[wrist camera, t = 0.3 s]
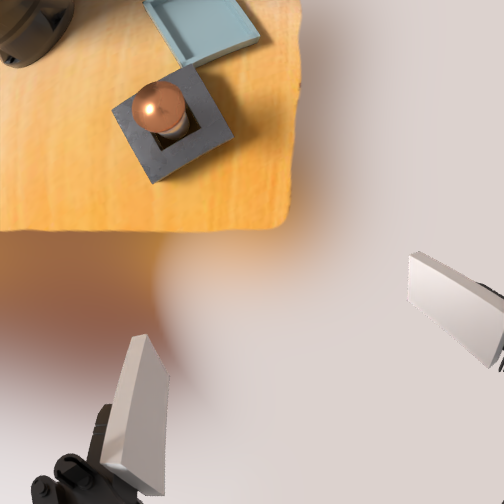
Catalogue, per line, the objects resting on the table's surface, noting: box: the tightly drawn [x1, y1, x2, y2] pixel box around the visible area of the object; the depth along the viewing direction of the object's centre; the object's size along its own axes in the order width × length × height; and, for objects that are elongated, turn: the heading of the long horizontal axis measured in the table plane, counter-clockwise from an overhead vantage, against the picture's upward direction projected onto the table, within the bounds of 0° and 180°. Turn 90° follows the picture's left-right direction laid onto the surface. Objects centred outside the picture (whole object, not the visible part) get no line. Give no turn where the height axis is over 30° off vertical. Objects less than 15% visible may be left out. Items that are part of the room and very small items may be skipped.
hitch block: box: [112, 63, 234, 184], centre depth 30 cm, size 11×11×4 cm
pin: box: [132, 81, 189, 140], centre depth 26 cm, size 5×5×13 cm
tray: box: [143, 0, 260, 68], centre depth 26 cm, size 14×11×2 cm
